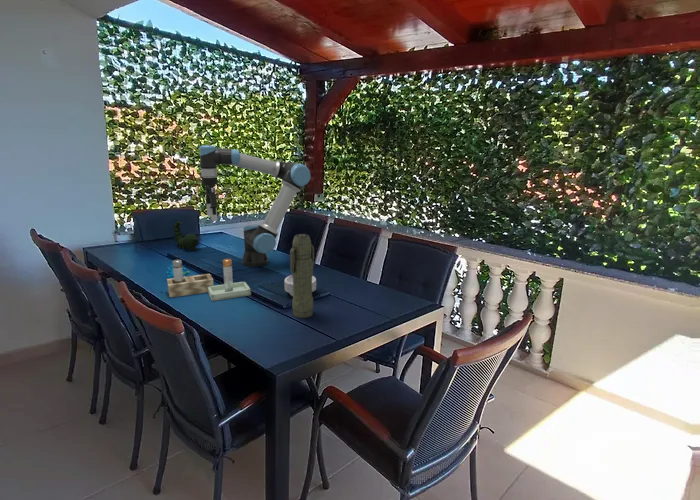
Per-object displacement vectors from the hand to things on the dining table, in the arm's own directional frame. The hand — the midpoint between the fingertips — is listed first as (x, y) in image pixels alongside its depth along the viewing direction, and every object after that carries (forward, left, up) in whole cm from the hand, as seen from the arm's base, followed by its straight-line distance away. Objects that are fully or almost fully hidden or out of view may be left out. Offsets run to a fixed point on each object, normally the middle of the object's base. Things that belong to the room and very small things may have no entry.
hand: (212, 218), depth 218 cm
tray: (-1, +29, -32) cm, 43 cm away
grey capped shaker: (+20, +17, -32) cm, 41 cm away
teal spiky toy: (+19, -3, -32) cm, 37 cm away
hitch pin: (-1, +29, -31) cm, 42 cm away
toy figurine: (+8, -63, -32) cm, 71 cm away
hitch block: (+15, +17, -32) cm, 39 cm away
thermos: (-25, +65, -32) cm, 77 cm away
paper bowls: (-32, +43, -32) cm, 62 cm away
